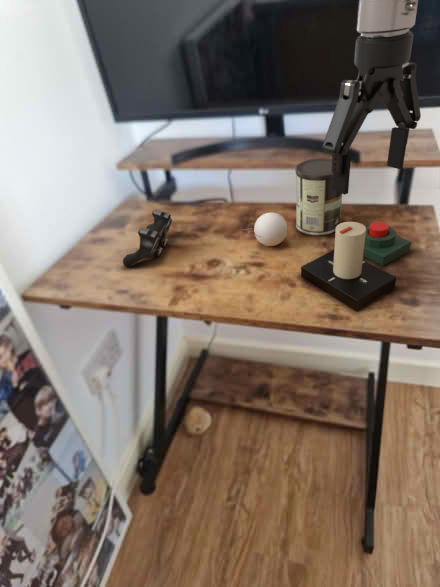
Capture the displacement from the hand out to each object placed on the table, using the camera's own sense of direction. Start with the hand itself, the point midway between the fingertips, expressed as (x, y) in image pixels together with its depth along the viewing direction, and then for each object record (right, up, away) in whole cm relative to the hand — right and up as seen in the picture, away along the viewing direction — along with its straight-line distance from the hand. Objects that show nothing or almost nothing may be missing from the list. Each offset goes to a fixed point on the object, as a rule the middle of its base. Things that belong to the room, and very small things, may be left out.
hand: (368, 179), depth 69 cm
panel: (-1, -18, +7) cm, 19 cm away
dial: (-2, -15, +6) cm, 17 cm away
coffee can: (-2, -4, +26) cm, 26 cm away
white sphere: (-15, -8, +22) cm, 28 cm away
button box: (+7, -10, +15) cm, 20 cm away
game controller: (-41, -10, +26) cm, 50 cm away
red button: (+7, -7, +13) cm, 16 cm away
